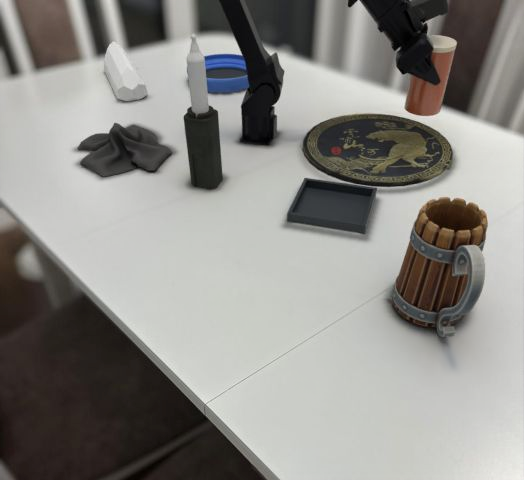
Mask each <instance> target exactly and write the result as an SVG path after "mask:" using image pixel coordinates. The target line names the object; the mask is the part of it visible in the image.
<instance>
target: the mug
mask: <svg viewBox="0 0 524 480" xmlns="http://www.w3.org/2000/svg"><path fill="white" fill-rule="evenodd" d="M488 225H489V222H488V217H487V213H486V212H485V210H484V209H480V207H479V205H478V204H476V203H474V202H470V201H469V202H468V203H467V201H466V200H465V199H463V198H459V197H454V198H453V199H452V200H451V197H448V196H441V197H439V198H438V199H435V198H432V199H429V200H428V201H427V202H425V204H423V205H422V206H421V208H420V209H419V210H418V214H417V217H416V219H415V220H414V221H413V225H412V229H411V231H410V235H409V242H408V245H407V248H406V251H405V254H404V258H403V259H402V260H403V261H402V263H401V266H400V269H399V273H398V275H397V276H396V278H395V282H394V283H393V288H392V291H391V296H392V299H391V301H392V306H393V307H394V309H395V310H396V312H398V314H399V315H400V316H401V317H403V318H404V319H406V320H407V321H409V322H410V323H413V324H415V325H418V326H421V327H427V328H436V331H437V334H438V336H439V337H441V338H442V337H443V338H444V337H453V336H455V335H456V332H457V331H456V329H455V326H453V325H454V324H456V323H458V322H459V321H460V320H461V318H462V317H464V315H466V314H468V313H470V312H471V311H472V310H474V308H475V306H476V304H477V302H478V301H479V299H480V297H481V295H482V292H483V289H484V285H485V279H486V262H485V257H484V254H483V251H484V247H485V243H486V240H487V230H488V227H489V226H488ZM451 325H452V326H451Z"/></svg>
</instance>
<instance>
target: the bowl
mask: <svg viewBox="0 0 524 480" xmlns="http://www.w3.org/2000/svg"><path fill="white" fill-rule="evenodd" d="M203 56H204V58H205V68H206V80H207V92H209V93H233V92H238V91H242V90H245V89H246V90H247V88H248V87H249V83H248V78H247V71H246V65H245V61H244V58H243V56H242V54H236V53H215V54H214V53H213V54H207V55H203ZM186 74H187V75H188V69H187V68H186Z"/></svg>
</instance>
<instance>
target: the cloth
mask: <svg viewBox="0 0 524 480" xmlns="http://www.w3.org/2000/svg"><path fill="white" fill-rule="evenodd" d="M77 150H79V151H81V150H88V151H92V152H90V153H89V154H87V155H85V156H84V157H83V158H82V159H81V160H80V161H79V164H81V165H83V166H86V167H87V168H89V169H90V170H92V171H94V172H96V173H97V174H98V175H100V176H101V177H109V176H114V175H120V174H124V173H128V172H131V171H133V170H135V169H138V168H142V169H144V170H146V171H149V172H150V171H156V170H157V168H158V167H159V166H160V165H161V164H162V163H163V161H164V160H166V158H167V157H168V156H170V155H171V154H172V153H173V150H172V149H171V148H170V147H168V146H167V145H164V144H161V143H159V141H158V135H157V134H156V133H154V132H153V131H151V130H149V129H147V128H144V127H142V126H138V125H137V124H131V125H129V126H127V127H124V126H123V125H121V124H120V123H118V122H114V123H113V125H112V126H111V128H110V129H109V131H108V132H105V133H104V132H99V133H94V134H91V135H89V136H87V137H86V138H85V139H83V140H81V141H80V143H79V145H78V146H77Z"/></svg>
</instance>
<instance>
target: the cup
mask: <svg viewBox="0 0 524 480" xmlns="http://www.w3.org/2000/svg"><path fill="white" fill-rule="evenodd" d="M427 35H428V37H429V38H430V40H431V42H432V43H433V46H434V49H433V51H432V55H431V59H432V61H433V64H434V66H435V68H436V71H437V73H438V75H439V78H440V80H441V82H440V83H439V84H438V85H436V86H435V85H433V84H431V83H429V82H427V81H425V80H423V79H420V78H418V77H416V76H413V75H411V74H409V75H410V76H409V79H408V85H407V91H406V95H405V101H404V107H403V108H404V110H405V111H406V112H407V113H408V114H411V115H413V116H419V117H432V116H436V115H438V114H440V113H441V110H442V106H443V102H444V99H445V98H444V97H445V94H446V89H447V85H448V81H449V78H450V74H451V73H450V72H451V69H452V64H453V60H454V57H455V53H456V49H457V44H458V42H457V40H455V39H454V38H452V37H449V36H445V35H439V34H427Z"/></svg>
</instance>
